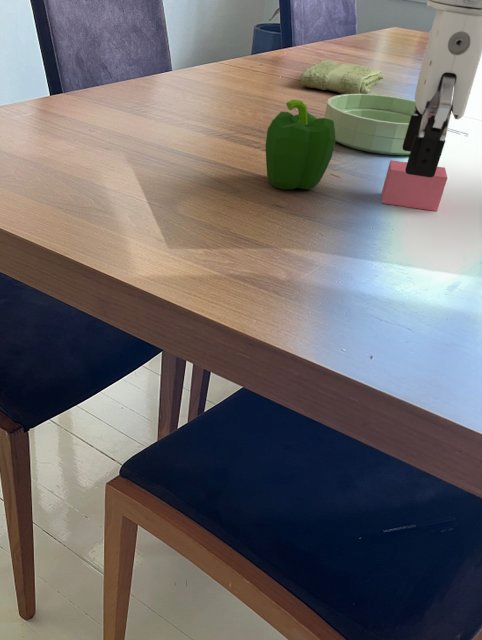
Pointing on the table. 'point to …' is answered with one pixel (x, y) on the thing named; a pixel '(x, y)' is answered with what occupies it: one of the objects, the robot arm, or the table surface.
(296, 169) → the bell pepper
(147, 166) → the table surface
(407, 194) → the eraser
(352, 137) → the bowl
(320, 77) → the washcloth
